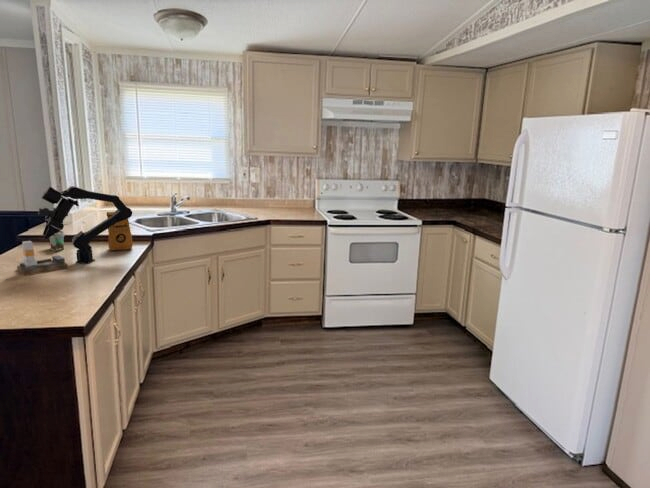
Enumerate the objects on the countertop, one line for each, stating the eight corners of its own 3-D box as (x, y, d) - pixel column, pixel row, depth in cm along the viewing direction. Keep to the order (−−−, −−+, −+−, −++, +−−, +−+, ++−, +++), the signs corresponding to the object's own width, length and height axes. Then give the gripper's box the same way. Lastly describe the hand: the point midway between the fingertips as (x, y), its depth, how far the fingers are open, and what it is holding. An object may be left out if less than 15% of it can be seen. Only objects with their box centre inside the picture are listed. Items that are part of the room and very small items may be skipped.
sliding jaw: (32, 264, 210) (29, 239, 207) (37, 267, 205) (34, 242, 202) (23, 265, 207) (19, 241, 205) (27, 269, 202) (24, 243, 200)
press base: (59, 262, 221) (58, 254, 220) (68, 267, 213) (67, 259, 212) (17, 269, 208) (16, 260, 207) (24, 275, 200) (23, 265, 199)
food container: (69, 250, 245) (67, 233, 243) (57, 252, 241) (55, 234, 238) (62, 246, 253) (60, 229, 251) (50, 248, 249) (48, 230, 247)
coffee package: (133, 250, 249) (130, 212, 244) (109, 252, 244) (105, 213, 239) (132, 246, 258) (129, 209, 253) (108, 248, 252) (105, 210, 247)
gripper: (44, 198, 216) (25, 225, 214) (47, 203, 201) (27, 232, 199) (66, 209, 223) (49, 236, 220) (71, 215, 208) (53, 243, 206)
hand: (44, 236), depth 211 cm, fingers open, 9 cm apart
